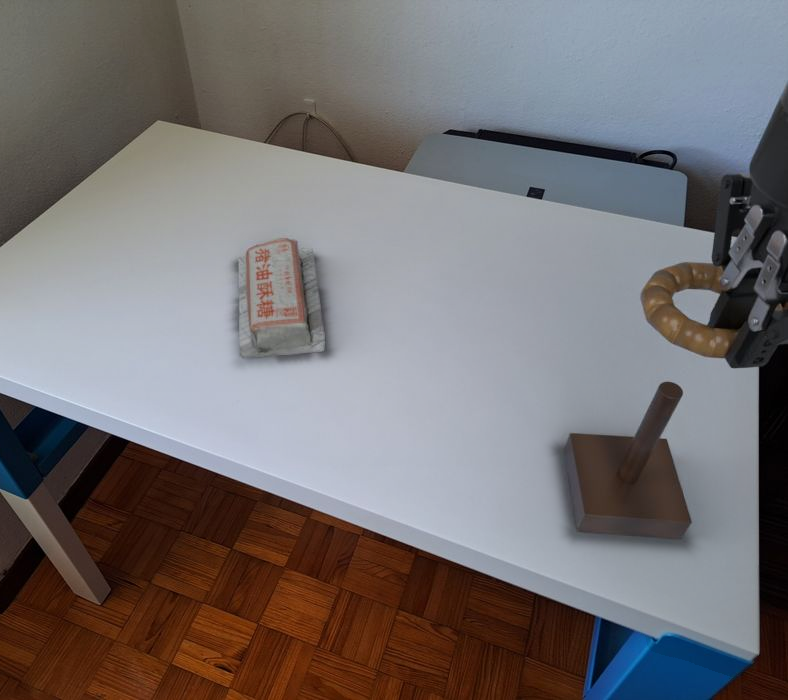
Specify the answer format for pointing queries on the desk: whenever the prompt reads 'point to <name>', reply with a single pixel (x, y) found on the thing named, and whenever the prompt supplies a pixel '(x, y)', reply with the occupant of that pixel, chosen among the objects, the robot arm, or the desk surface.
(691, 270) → the segmented donut ring
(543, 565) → the desk surface
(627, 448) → the peg stand
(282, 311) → the packaged product
